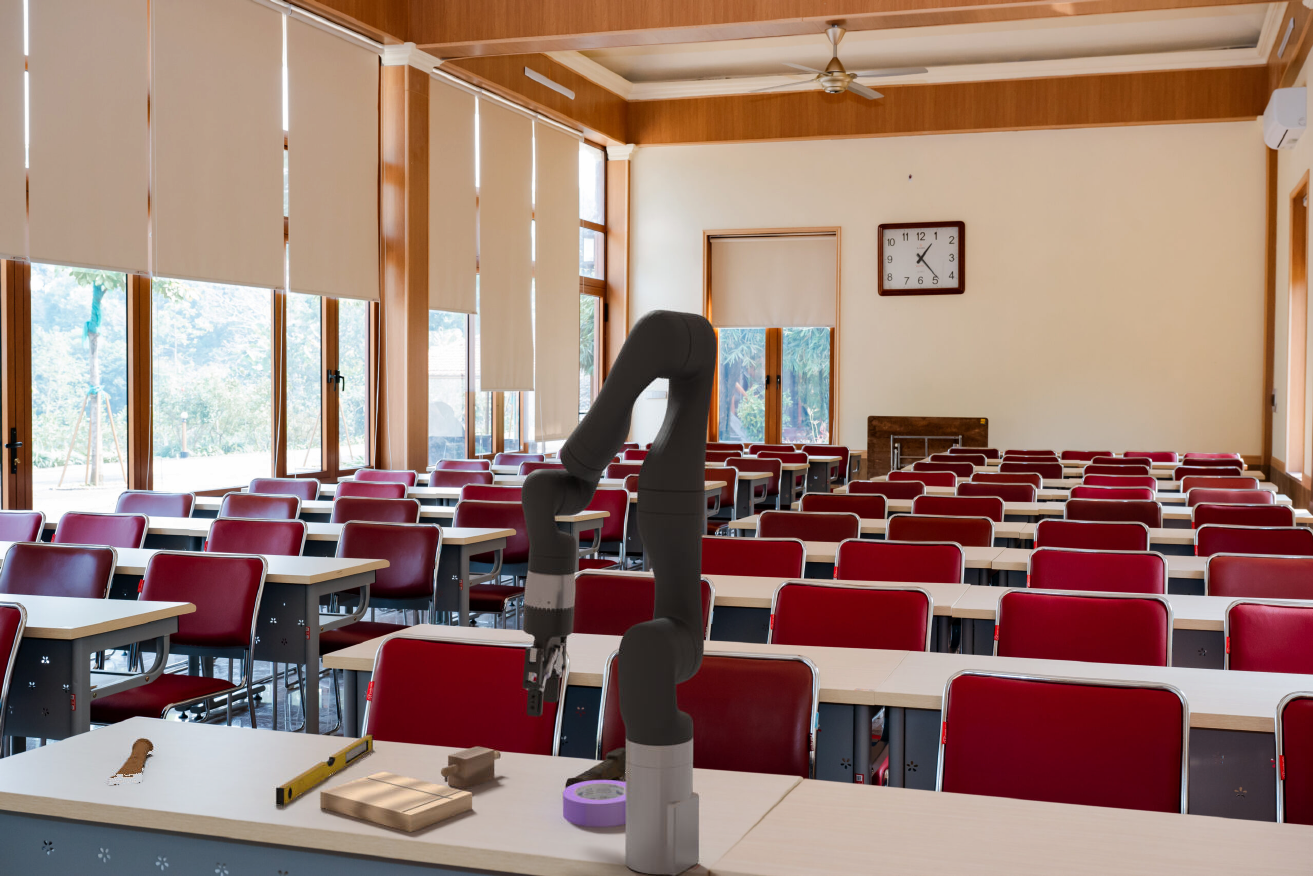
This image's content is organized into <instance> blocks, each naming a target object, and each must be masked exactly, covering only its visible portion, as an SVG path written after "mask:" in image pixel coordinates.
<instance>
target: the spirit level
mask: <svg viewBox="0 0 1313 876" xmlns="http://www.w3.org/2000/svg"><path fill="white" fill-rule="evenodd" d="M373 739H374V735H373V734H370V733H366V734H365V735H364V736H363V737H361V738H359V739H358V740H355V741H354V742H352V743H351V744H349V745H347V746H346V747H344V748H342V749H341V750H339V751H337V752H336V753H334V754H332V755H331V756H329V758H328V760H327V761H321V762H319V763H317V764H316V765H314V766H312V767H310V768H309V769H307V770H306V771H304V772H302V773H301V774H299V775H297V776H295V777H293V778H292V779H290V780H289V781H287V782H285V783H284V784H282V785H280V786H278V787H276V788H275V805H276V804H280V805H279V806H285V805H286V804H287V803H289V802H290V800H291V801H292V800H293V799H296V798H297V797H299V796H300V795H301V794H300V793H302V792H303V793H305V792H307V791H308V790H310V789H312V786H313V787H315V786H316V785H317V783H318V782H319V783H321V782H322V781H324V780H325V778H326V777H327V778H329V777H330V776H331V775H330V774H332V773H333V774H335V773H336V771H337V770H338V771H340V770H342V769H343V768H345V767H346V766H348V765H349V764H351V763H353V762H354V761H356V760H357V759H359V758H360V757H362V756H363V754H364V753H365V754H367V753H368V752H370V751H372V750H374V740H373ZM366 752H367V753H366ZM365 754H364V755H365ZM361 755H362V756H361ZM358 757H359V758H358ZM344 766H345V767H344ZM342 767H343V768H342ZM339 769H340V770H339ZM338 771H337V772H338ZM334 772H335V773H334ZM333 774H332V775H333ZM329 775H330V776H329ZM328 776H329V777H328ZM327 778H326V779H327ZM323 779H324V780H323ZM321 780H322V781H321ZM320 781H321V782H320ZM319 783H318V784H319ZM315 784H316V785H315ZM309 788H310V789H309ZM307 789H308V790H307ZM306 790H307V791H306ZM304 791H305V792H304ZM303 793H302V794H303ZM299 794H300V795H299ZM298 795H299V796H298ZM296 796H297V797H296ZM285 803H286V804H285ZM281 804H282V805H281Z"/></svg>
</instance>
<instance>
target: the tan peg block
mask: <svg viewBox="0 0 1313 876" xmlns="http://www.w3.org/2000/svg"><path fill="white" fill-rule="evenodd" d="M500 758H501V752H500V751H499V750H495V749H492V748H488V747H483V746H474V747H471V748H466V749H463V750H461V751H458V752H454V753H452V754H448V755H447V766H445V767H443V768H441V770H440V774H441V776H442V777H444V782H445V783H447V785H448V786H452V787H456V788H460V789H464V790H467V789H469V788H472V787H476V786H477V785H480V784H483V783H487V782H489V781H492V780H494V779H495V760H498V759H500Z"/></svg>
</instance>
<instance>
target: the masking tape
mask: <svg viewBox="0 0 1313 876" xmlns="http://www.w3.org/2000/svg"><path fill="white" fill-rule="evenodd" d="M625 813H626V781H620V780H592V781H585V782H580V783H576V784H573V785H571V786H569V787H567V788H566V789H565V788H564V790H563V792H562V815H563V816H562V817H563V818H564V820H565V821H567V822H569V823H571V824H574V825H578V826H582V827H583V826H584V827H593V828H605V827H607V828H608V827H615V826H617V827H618V826H621V825H625Z"/></svg>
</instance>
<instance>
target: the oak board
mask: <svg viewBox="0 0 1313 876" xmlns="http://www.w3.org/2000/svg"><path fill="white" fill-rule="evenodd" d="M319 795H320V798H319V799H320V802H319V804H320V808H322V809H324V808H325V809H326V810H328V811H332V812H336V813H339V814H344V815H347V816H349V817H355V818H357V819H361V820H365V821H369V822H373V823H376V824H380V825H385V826H386V827H391V828H394V829H398V830H402V831H405V832H409V833H412V832H415V831H417V830H420V829H423V828H425V827H428V826H430V825H433V824H436V823H438V822H441V821H444V820H447V819H449V818H452V817H454V816H457V815H460V814H463V813H465V812H468V811H470V810H473V793H472V792H470V791H466V790H461V789H457V788H453V787H449V786H445V785H442V784H441V785H440V784H436V783H433V782H429V781H423V780H419V779H415V778H411V777H407V776H404V775H398V774H393V773H390V772H386V771H381V772H378V773H375V774H371V775H369V776H365V777H362V778H358V779H355V780H353V781H349V782H346V783H343V784H340V785H336V786H334V787H333V786H332V787H330V788H327V789H324V790H321V791H320V793H319ZM325 809H324V810H325Z"/></svg>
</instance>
